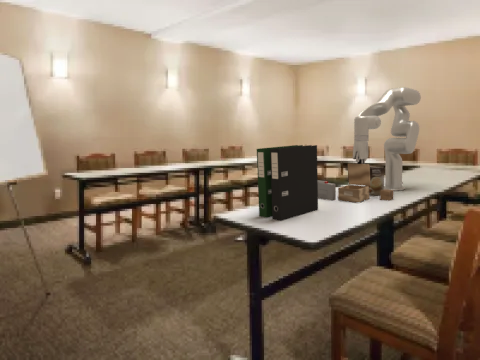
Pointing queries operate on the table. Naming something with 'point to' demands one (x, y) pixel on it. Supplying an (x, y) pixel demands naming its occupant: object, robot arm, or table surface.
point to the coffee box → (376, 181)
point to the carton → (353, 193)
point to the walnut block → (386, 194)
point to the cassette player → (326, 190)
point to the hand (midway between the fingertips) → (361, 171)
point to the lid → (359, 174)
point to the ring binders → (287, 181)
